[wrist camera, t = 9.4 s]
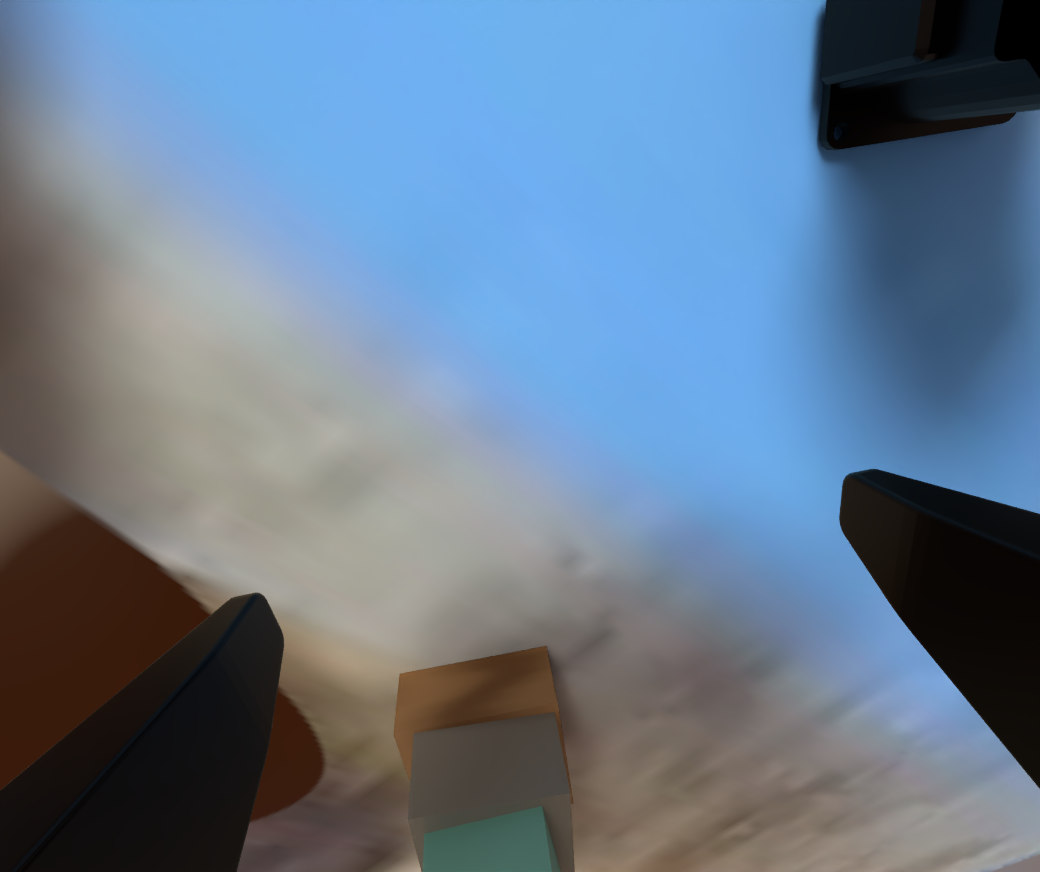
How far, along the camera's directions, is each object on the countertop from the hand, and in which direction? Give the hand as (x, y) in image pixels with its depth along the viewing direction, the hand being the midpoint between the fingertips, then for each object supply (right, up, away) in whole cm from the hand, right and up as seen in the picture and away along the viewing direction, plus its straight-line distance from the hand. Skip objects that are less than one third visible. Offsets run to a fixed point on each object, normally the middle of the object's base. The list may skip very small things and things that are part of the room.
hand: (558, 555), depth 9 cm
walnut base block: (-2, -12, +20) cm, 23 cm away
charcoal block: (-2, -13, +17) cm, 21 cm away
